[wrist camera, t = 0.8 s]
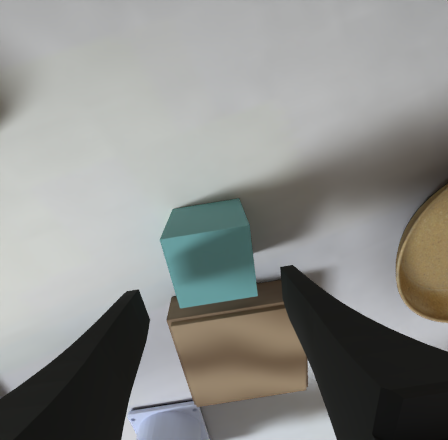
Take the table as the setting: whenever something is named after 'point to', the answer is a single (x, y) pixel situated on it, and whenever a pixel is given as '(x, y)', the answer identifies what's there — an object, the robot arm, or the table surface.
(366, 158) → the table surface
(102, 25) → the table surface
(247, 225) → the teal cube
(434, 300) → the plant saucer
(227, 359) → the walnut plinth
